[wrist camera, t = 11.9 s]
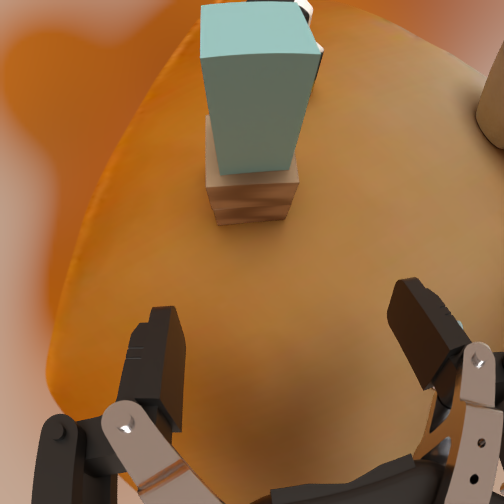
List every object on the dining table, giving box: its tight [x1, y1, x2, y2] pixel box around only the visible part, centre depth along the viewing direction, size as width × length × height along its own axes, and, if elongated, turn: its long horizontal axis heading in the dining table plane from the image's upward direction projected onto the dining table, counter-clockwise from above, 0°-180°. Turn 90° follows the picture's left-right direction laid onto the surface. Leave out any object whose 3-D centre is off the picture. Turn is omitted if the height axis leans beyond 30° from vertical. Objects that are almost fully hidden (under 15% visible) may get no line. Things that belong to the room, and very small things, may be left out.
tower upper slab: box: [206, 115, 299, 209], centre depth 21 cm, size 6×6×4 cm
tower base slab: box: [213, 205, 291, 225], centre depth 25 cm, size 6×6×4 cm
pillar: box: [200, 1, 321, 176], centre depth 14 cm, size 4×4×10 cm
